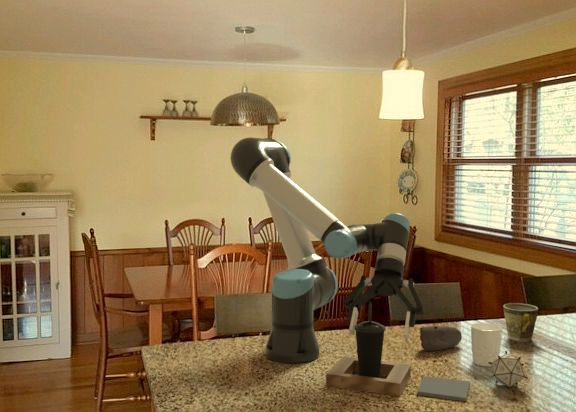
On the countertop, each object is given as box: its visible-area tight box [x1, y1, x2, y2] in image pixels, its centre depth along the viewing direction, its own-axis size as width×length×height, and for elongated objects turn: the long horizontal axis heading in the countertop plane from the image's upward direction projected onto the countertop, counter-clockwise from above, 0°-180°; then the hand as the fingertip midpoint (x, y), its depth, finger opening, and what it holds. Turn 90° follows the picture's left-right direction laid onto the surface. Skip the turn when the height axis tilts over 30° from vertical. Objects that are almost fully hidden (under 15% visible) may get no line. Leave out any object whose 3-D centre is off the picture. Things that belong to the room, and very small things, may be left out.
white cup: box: [470, 322, 503, 368], centre depth 163 cm, size 8×8×10 cm
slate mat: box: [416, 375, 471, 402], centre depth 144 cm, size 11×11×1 cm
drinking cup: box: [354, 300, 386, 378], centre depth 149 cm, size 8×8×20 cm
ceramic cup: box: [502, 302, 539, 343], centre depth 184 cm, size 13×10×10 cm
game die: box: [488, 350, 529, 391], centre depth 146 cm, size 9×8×10 cm
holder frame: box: [325, 356, 412, 397], centre depth 149 cm, size 18×14×3 cm
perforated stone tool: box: [419, 325, 463, 352], centre depth 175 cm, size 15×5×7 cm, turn 112°
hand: (378, 335), depth 149 cm, fingers open, 13 cm apart
